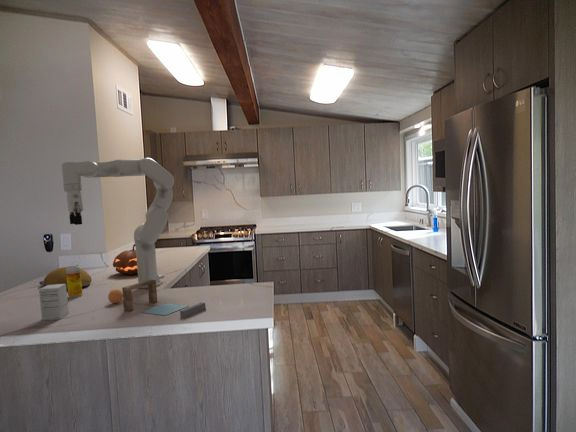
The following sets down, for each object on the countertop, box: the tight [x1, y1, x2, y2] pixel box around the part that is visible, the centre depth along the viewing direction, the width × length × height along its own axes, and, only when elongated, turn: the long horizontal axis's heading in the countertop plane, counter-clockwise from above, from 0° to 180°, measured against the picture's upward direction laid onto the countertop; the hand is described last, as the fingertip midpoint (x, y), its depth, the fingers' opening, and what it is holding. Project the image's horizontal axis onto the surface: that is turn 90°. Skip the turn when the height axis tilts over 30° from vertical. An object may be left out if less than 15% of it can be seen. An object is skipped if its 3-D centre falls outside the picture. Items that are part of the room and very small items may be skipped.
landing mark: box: [141, 303, 190, 317], centre depth 166 cm, size 13×13×1 cm
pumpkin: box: [112, 243, 138, 276], centre depth 250 cm, size 25×25×19 cm
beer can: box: [65, 264, 83, 299], centre depth 197 cm, size 6×6×15 cm
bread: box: [43, 266, 92, 290], centre depth 225 cm, size 18×35×10 cm, turn 54°
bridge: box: [121, 280, 158, 313], centre depth 172 cm, size 3×15×10 cm, turn 151°
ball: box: [107, 289, 123, 304], centre depth 180 cm, size 6×6×6 cm
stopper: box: [179, 302, 207, 319], centre depth 158 cm, size 12×2×2 cm, turn 151°
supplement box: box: [38, 284, 69, 321], centre depth 163 cm, size 7×7×13 cm
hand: (76, 224), depth 195 cm, fingers open, 9 cm apart
